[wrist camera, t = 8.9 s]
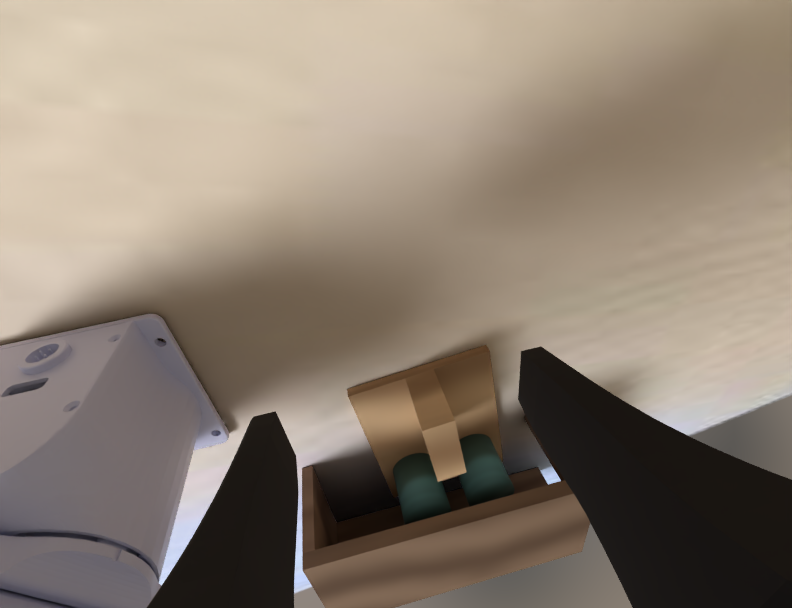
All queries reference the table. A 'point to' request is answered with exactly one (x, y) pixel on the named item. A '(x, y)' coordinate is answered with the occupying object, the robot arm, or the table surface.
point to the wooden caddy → (436, 542)
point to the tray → (435, 432)
